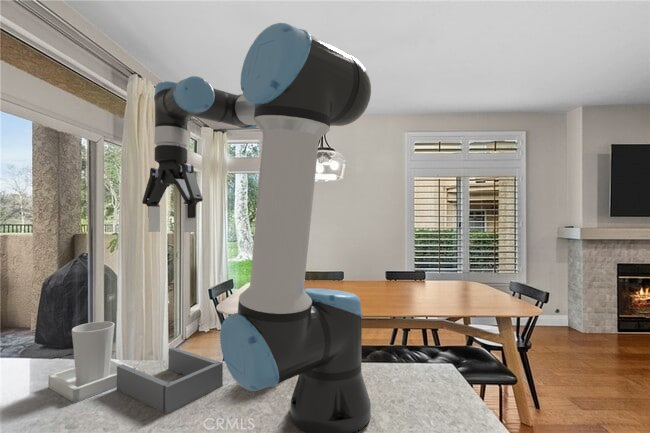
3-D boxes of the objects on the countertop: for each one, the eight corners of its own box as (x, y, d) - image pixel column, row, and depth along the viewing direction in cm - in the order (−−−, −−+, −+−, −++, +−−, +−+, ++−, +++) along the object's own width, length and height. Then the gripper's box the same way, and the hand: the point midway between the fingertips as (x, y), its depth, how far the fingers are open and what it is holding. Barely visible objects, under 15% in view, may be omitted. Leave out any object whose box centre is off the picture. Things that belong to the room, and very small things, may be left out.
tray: (135, 379, 80) (135, 368, 80) (74, 403, 69) (74, 389, 69) (107, 367, 86) (107, 356, 86) (48, 387, 76) (48, 375, 76)
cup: (92, 390, 73) (93, 333, 73) (61, 387, 74) (62, 330, 75) (122, 374, 81) (122, 322, 81) (93, 371, 82) (93, 320, 82)
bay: (222, 385, 77) (222, 362, 77) (166, 414, 65) (167, 387, 65) (172, 367, 86) (173, 347, 86) (116, 389, 75) (116, 366, 75)
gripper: (217, 143, 84) (217, 231, 84) (154, 154, 97) (154, 231, 96) (191, 137, 78) (191, 232, 77) (127, 150, 90) (127, 231, 90)
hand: (170, 232), depth 87 cm, fingers open, 13 cm apart
